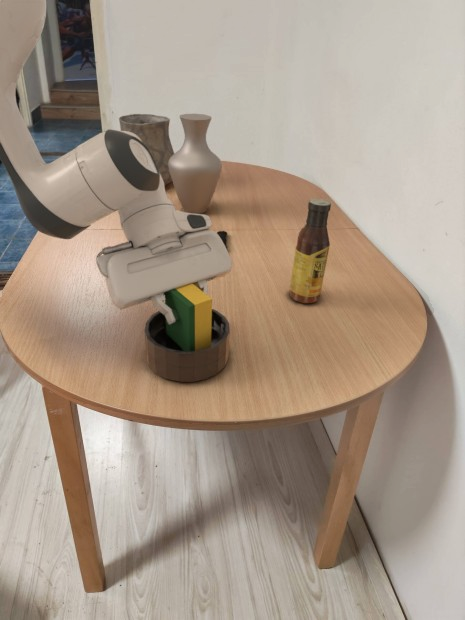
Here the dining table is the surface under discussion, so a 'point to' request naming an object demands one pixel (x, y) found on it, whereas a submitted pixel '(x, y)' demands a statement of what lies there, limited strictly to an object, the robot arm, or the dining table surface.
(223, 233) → the knife
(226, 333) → the bowl
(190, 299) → the sponge
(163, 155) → the vessel
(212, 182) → the vase
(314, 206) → the sauce bottle
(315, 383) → the dining table surface
